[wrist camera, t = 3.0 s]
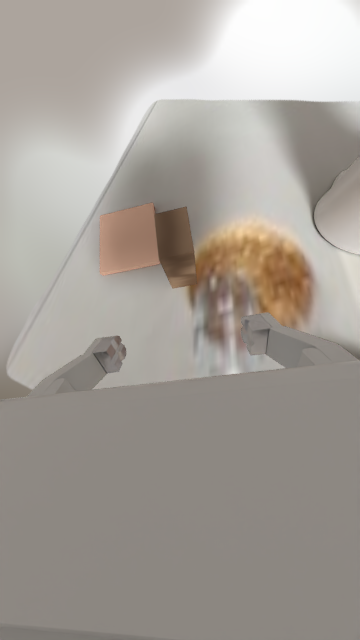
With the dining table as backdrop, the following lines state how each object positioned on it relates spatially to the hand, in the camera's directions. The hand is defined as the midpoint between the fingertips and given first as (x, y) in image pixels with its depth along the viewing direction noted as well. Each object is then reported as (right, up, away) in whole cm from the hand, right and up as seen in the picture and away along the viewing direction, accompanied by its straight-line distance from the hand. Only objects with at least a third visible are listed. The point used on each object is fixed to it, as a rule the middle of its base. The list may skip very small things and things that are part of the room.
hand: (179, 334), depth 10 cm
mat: (-11, +18, +22) cm, 30 cm away
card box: (0, +10, +18) cm, 21 cm away
